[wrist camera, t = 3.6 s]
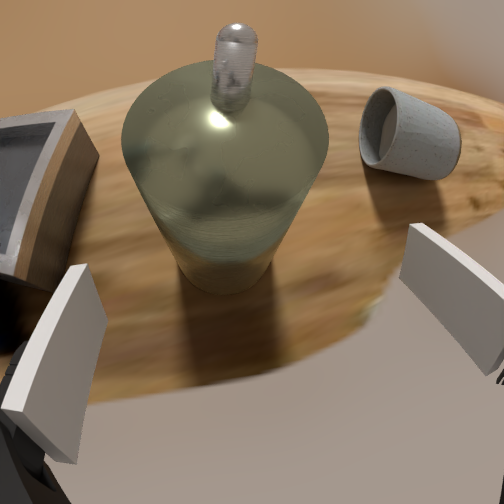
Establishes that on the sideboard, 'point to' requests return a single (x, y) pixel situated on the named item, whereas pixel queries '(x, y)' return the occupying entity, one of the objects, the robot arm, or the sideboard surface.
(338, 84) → the sideboard surface
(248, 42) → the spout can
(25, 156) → the grey rectangular tray
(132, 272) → the sideboard surface
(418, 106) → the ceramic mug
